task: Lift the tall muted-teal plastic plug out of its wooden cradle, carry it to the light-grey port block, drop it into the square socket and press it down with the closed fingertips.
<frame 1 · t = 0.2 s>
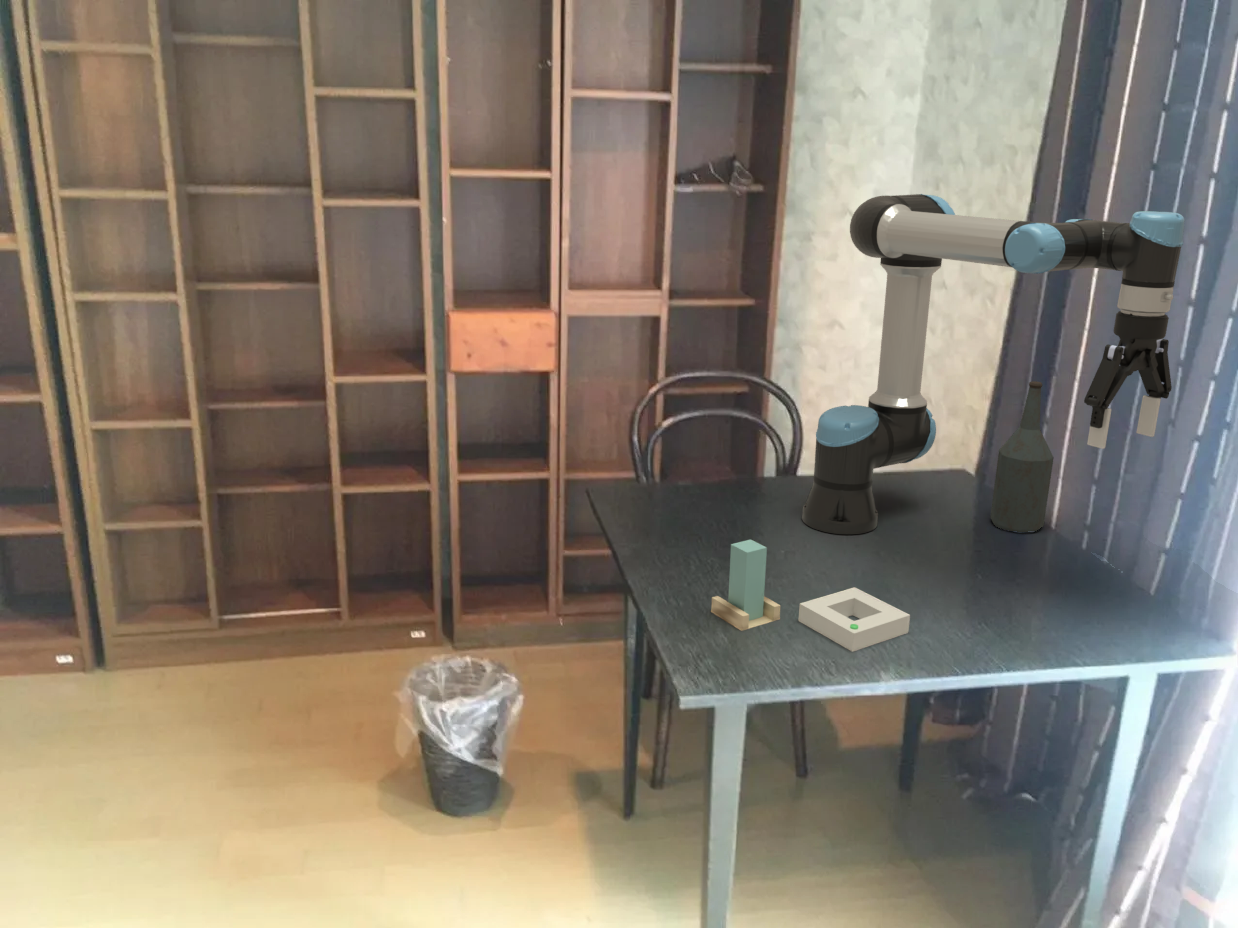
hand: (1121, 440, 169), 28 cm above the table, fingers open, 13 cm apart
wooden cradle: (744, 623, 165), on the table
port: (851, 634, 162), on the table
bottle: (1015, 526, 209), on the table
plug: (745, 614, 165), point 1 cm above the table, touching wooden cradle
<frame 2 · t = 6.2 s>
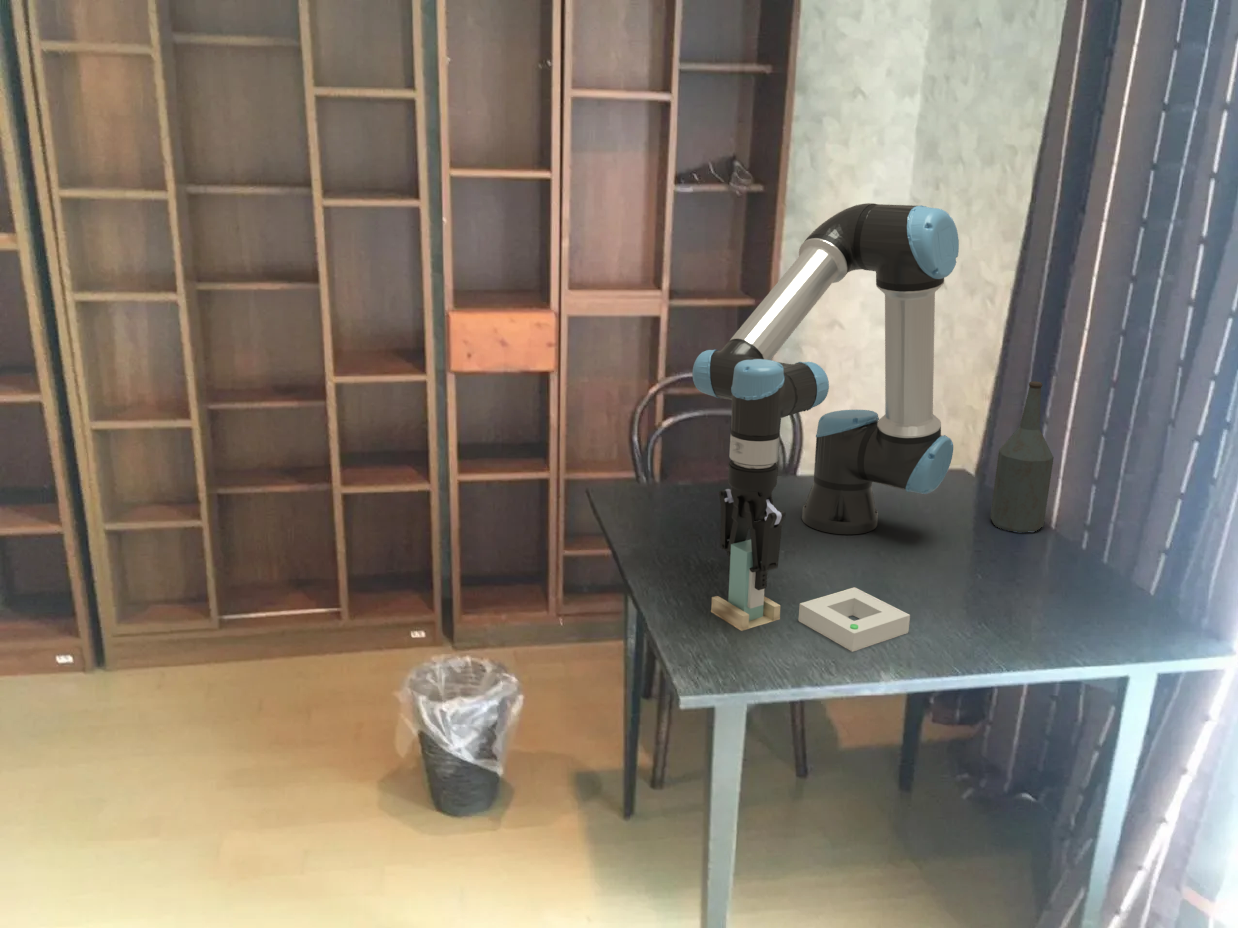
hand: (745, 599, 164), 4 cm above the table, fingers closed on plug, 4 cm apart
plug: (745, 614, 165), point 2 cm above the table, touching gripper, wooden cradle
everything else where it was.
when the fingers open (6 cm above the table, at t = 11.5 s): plug drops 2 cm, resting on port.
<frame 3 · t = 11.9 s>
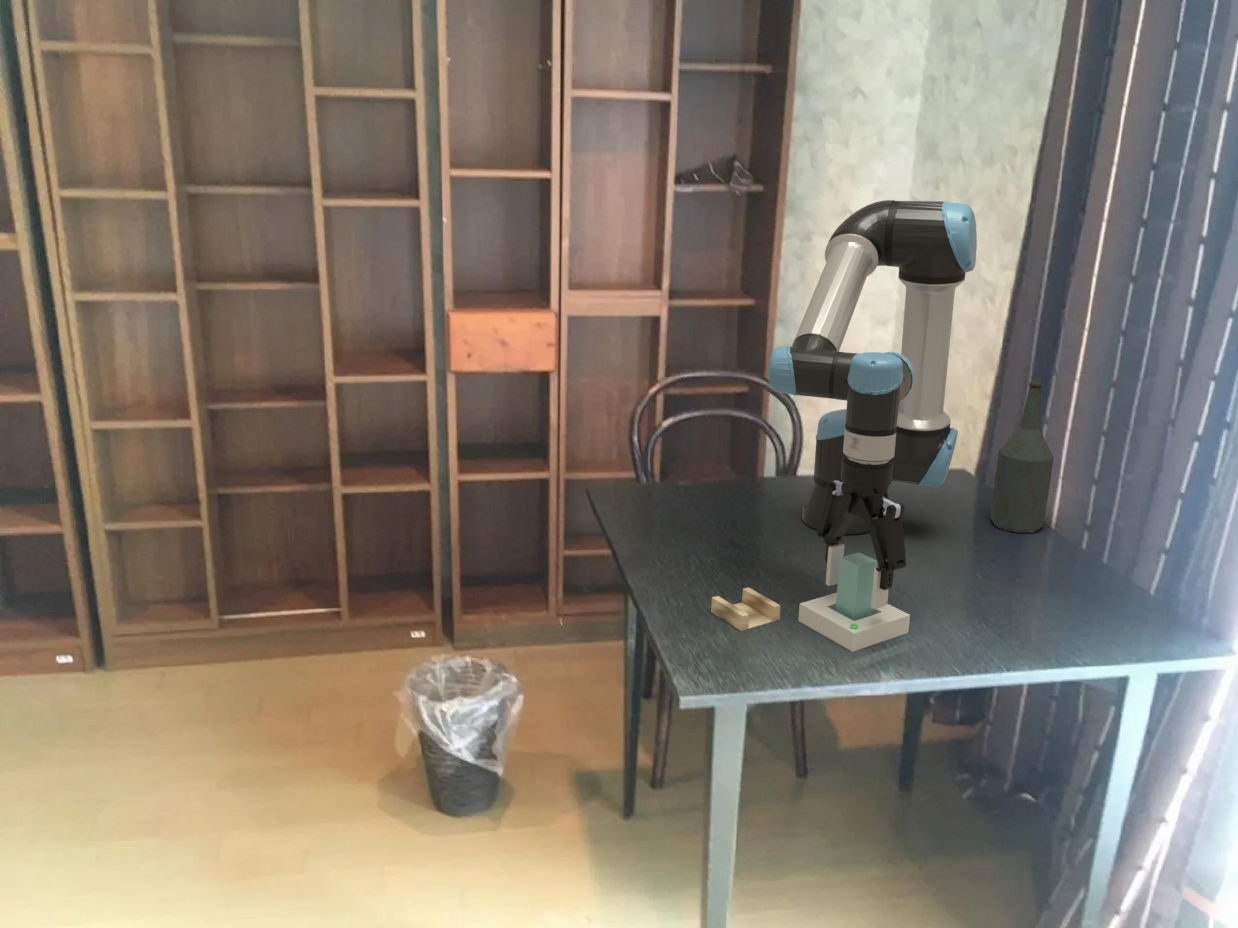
hand: (855, 594, 160), 7 cm above the table, fingers open, 9 cm apart
plug: (852, 629, 162), point 1 cm above the table, touching port
everything else where it was.
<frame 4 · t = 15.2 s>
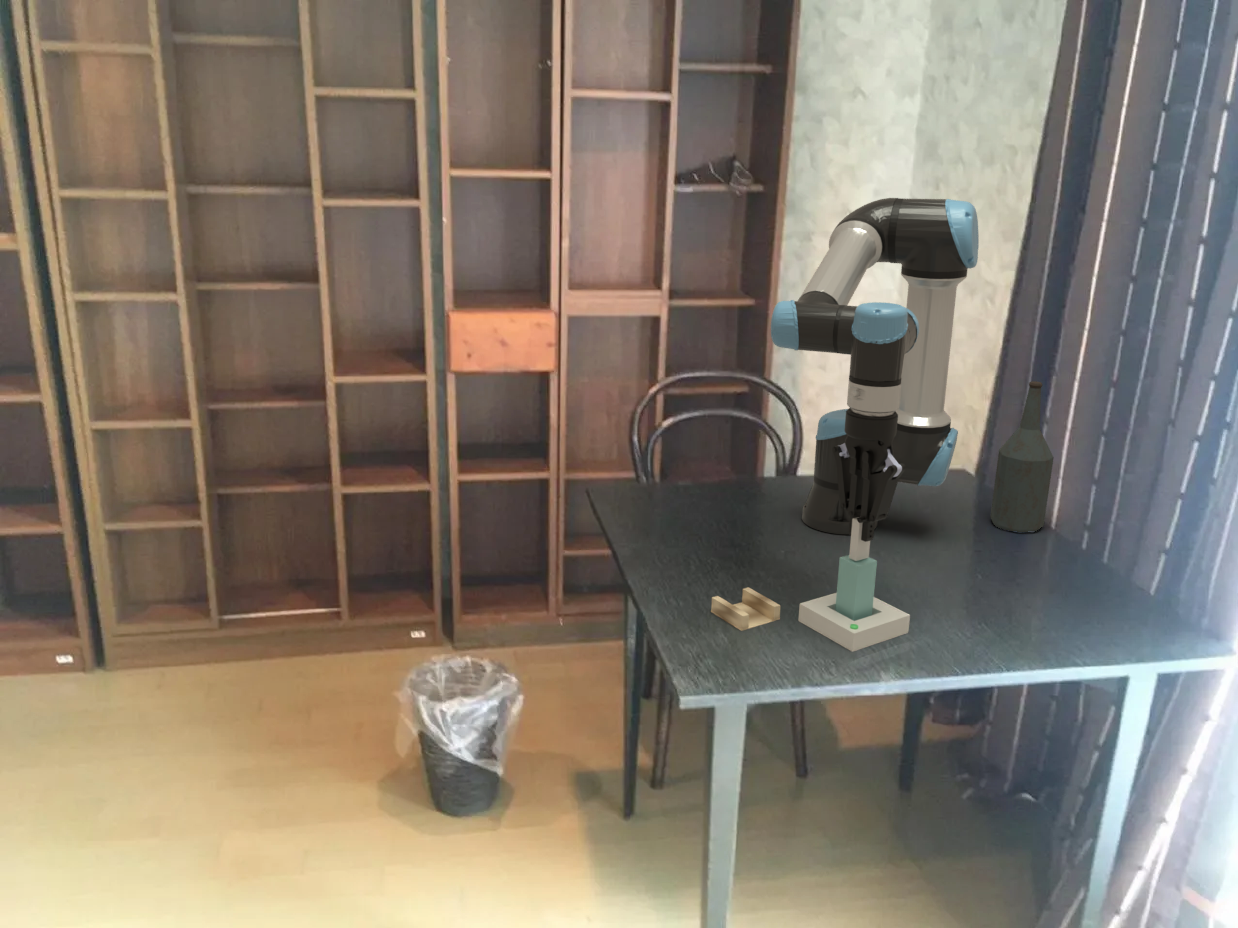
hand: (858, 557, 158), 13 cm above the table, fingers closed
plug: (852, 629, 162), point 1 cm above the table, touching gripper, port
everything else where it was.
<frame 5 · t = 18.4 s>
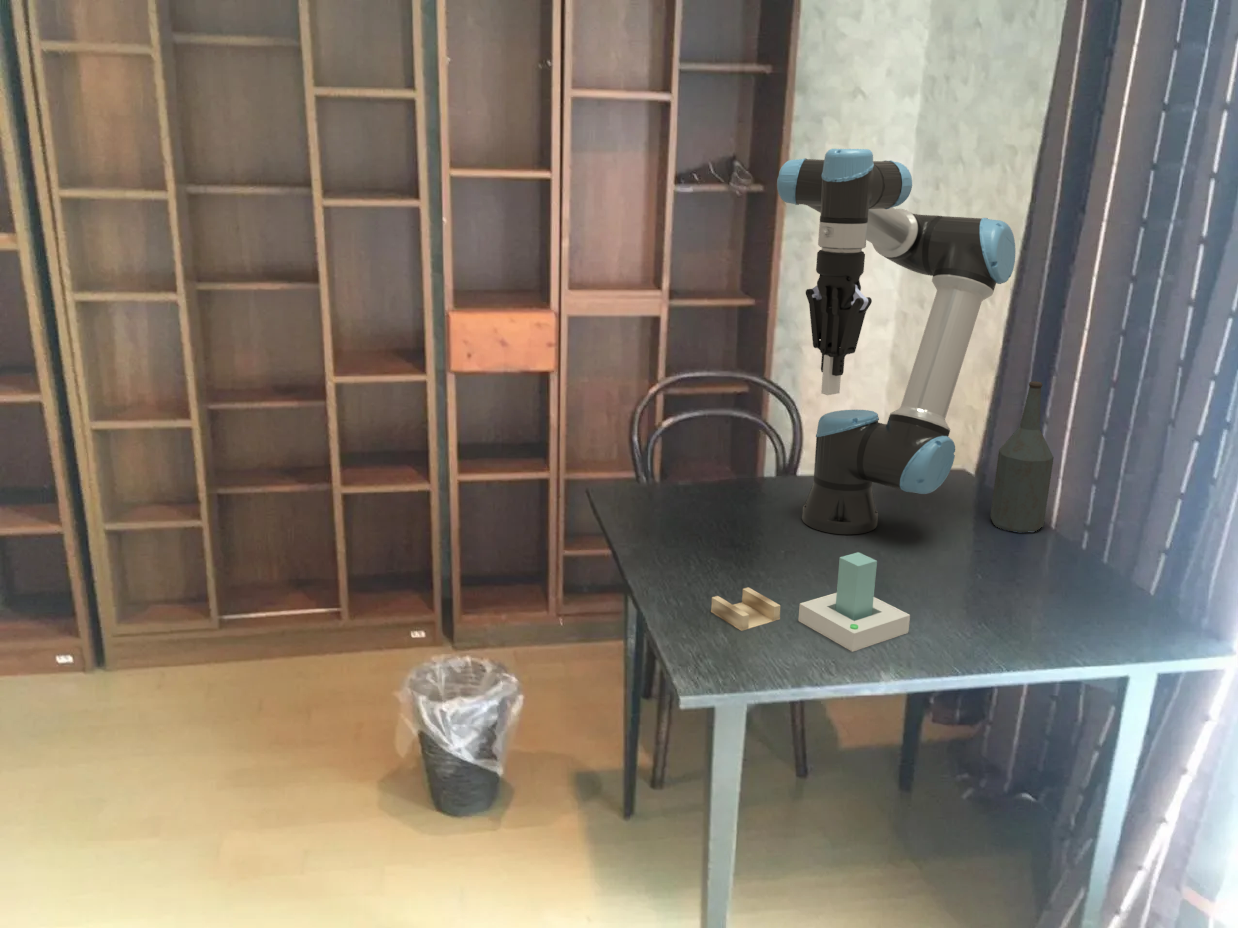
hand: (830, 393, 170), 34 cm above the table, fingers closed
plug: (852, 629, 162), point 1 cm above the table, touching port
everything else where it was.
at the end: plug 0.1 cm off-centre on the port, point 1.0 cm above the port's base; plug tilted 0°; the gripper is holding nothing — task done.
